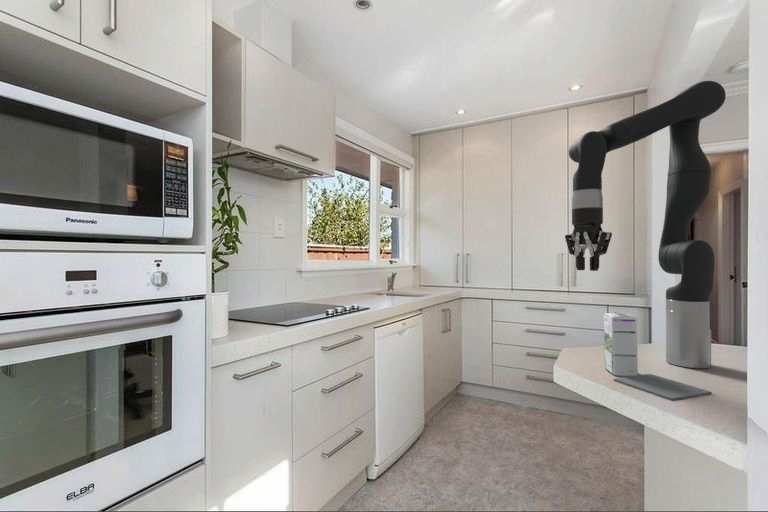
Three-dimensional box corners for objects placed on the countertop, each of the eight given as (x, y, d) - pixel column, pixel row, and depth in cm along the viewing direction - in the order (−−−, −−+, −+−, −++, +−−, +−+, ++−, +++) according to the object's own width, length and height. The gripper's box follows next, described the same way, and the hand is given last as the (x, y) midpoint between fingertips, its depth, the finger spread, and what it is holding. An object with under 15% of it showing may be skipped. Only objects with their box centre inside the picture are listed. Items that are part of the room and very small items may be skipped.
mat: (650, 375, 93) (650, 373, 93) (711, 393, 80) (711, 391, 80) (613, 380, 89) (613, 378, 89) (671, 400, 76) (671, 398, 76)
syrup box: (638, 377, 91) (638, 316, 91) (611, 375, 93) (611, 315, 93) (628, 370, 97) (628, 313, 97) (603, 368, 98) (603, 312, 98)
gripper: (620, 205, 99) (621, 271, 99) (577, 211, 112) (577, 269, 112) (598, 203, 96) (598, 271, 96) (556, 210, 110) (556, 269, 110)
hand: (587, 270), depth 104 cm, fingers open, 3 cm apart
